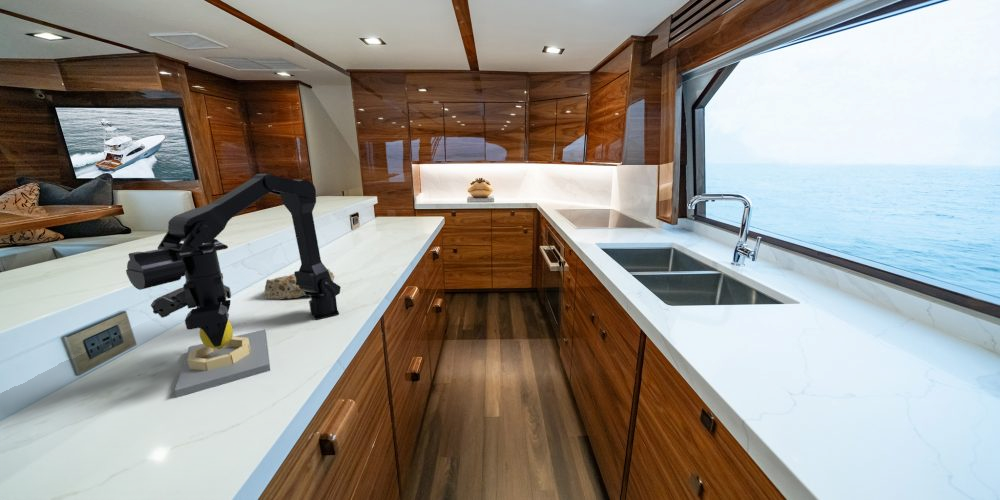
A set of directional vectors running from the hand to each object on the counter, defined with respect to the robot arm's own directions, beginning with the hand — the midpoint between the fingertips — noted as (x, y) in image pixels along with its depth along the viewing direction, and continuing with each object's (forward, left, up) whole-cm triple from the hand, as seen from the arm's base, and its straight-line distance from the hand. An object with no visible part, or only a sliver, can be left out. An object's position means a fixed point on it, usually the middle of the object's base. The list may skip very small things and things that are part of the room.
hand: (218, 340), depth 74 cm
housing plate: (-1, 0, -5) cm, 5 cm away
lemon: (0, 0, -2) cm, 2 cm away
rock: (-20, -40, -6) cm, 45 cm away
